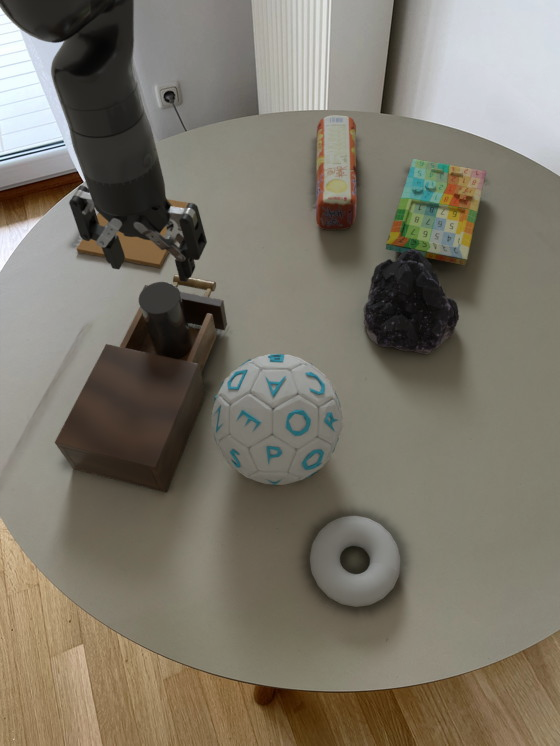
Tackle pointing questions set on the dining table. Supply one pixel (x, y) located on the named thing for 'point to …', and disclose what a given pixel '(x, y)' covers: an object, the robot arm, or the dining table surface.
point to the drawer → (197, 312)
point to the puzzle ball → (276, 419)
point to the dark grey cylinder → (166, 319)
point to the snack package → (336, 173)
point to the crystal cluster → (409, 305)
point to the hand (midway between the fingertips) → (152, 270)
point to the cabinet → (133, 417)
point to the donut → (343, 583)
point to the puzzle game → (437, 211)
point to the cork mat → (132, 245)
